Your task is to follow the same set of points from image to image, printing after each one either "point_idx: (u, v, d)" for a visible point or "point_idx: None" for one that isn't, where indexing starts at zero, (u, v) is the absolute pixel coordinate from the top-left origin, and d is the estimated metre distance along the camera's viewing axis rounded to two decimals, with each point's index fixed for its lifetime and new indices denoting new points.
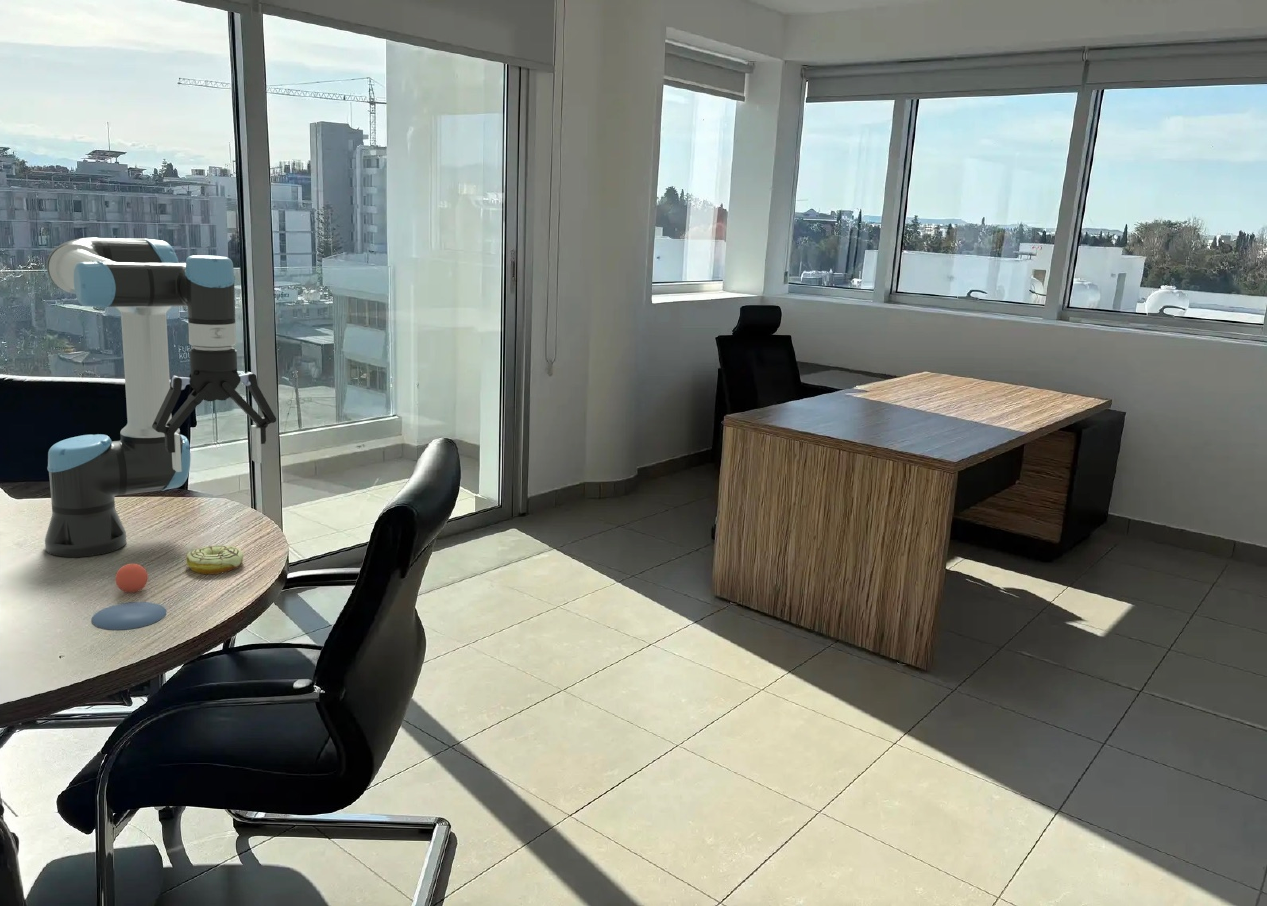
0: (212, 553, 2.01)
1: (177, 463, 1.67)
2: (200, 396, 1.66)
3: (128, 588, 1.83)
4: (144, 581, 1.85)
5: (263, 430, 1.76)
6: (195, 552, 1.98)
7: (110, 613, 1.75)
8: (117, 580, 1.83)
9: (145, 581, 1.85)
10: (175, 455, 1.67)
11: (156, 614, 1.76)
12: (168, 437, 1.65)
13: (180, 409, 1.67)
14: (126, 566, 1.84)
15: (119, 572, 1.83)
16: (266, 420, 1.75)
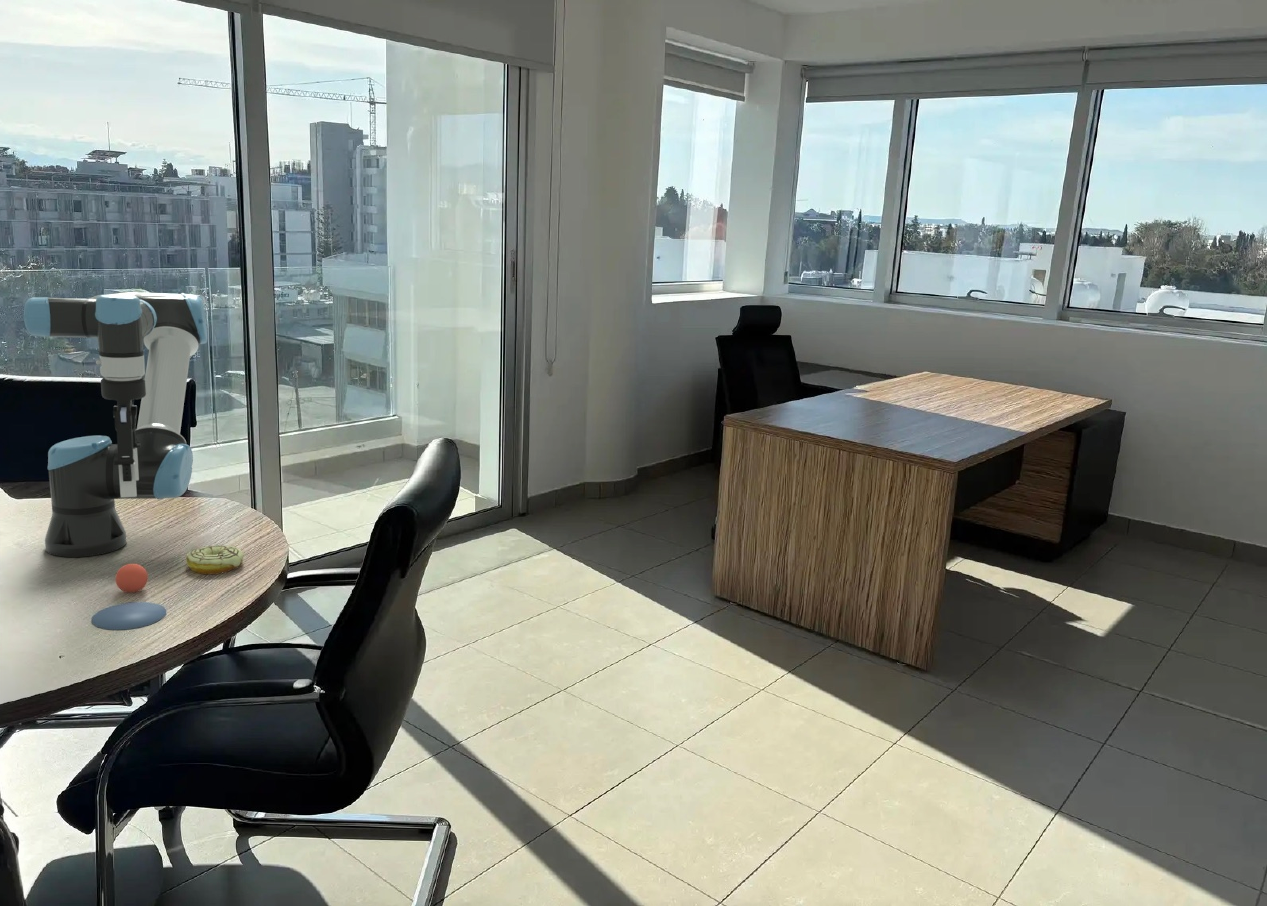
0: (212, 553, 2.01)
1: None
2: None
3: (128, 588, 1.83)
4: (144, 581, 1.85)
5: (122, 468, 1.82)
6: (195, 552, 1.98)
7: (110, 613, 1.75)
8: (117, 580, 1.83)
9: (145, 581, 1.85)
10: None
11: (156, 614, 1.76)
12: None
13: None
14: (126, 566, 1.84)
15: (119, 572, 1.83)
16: None
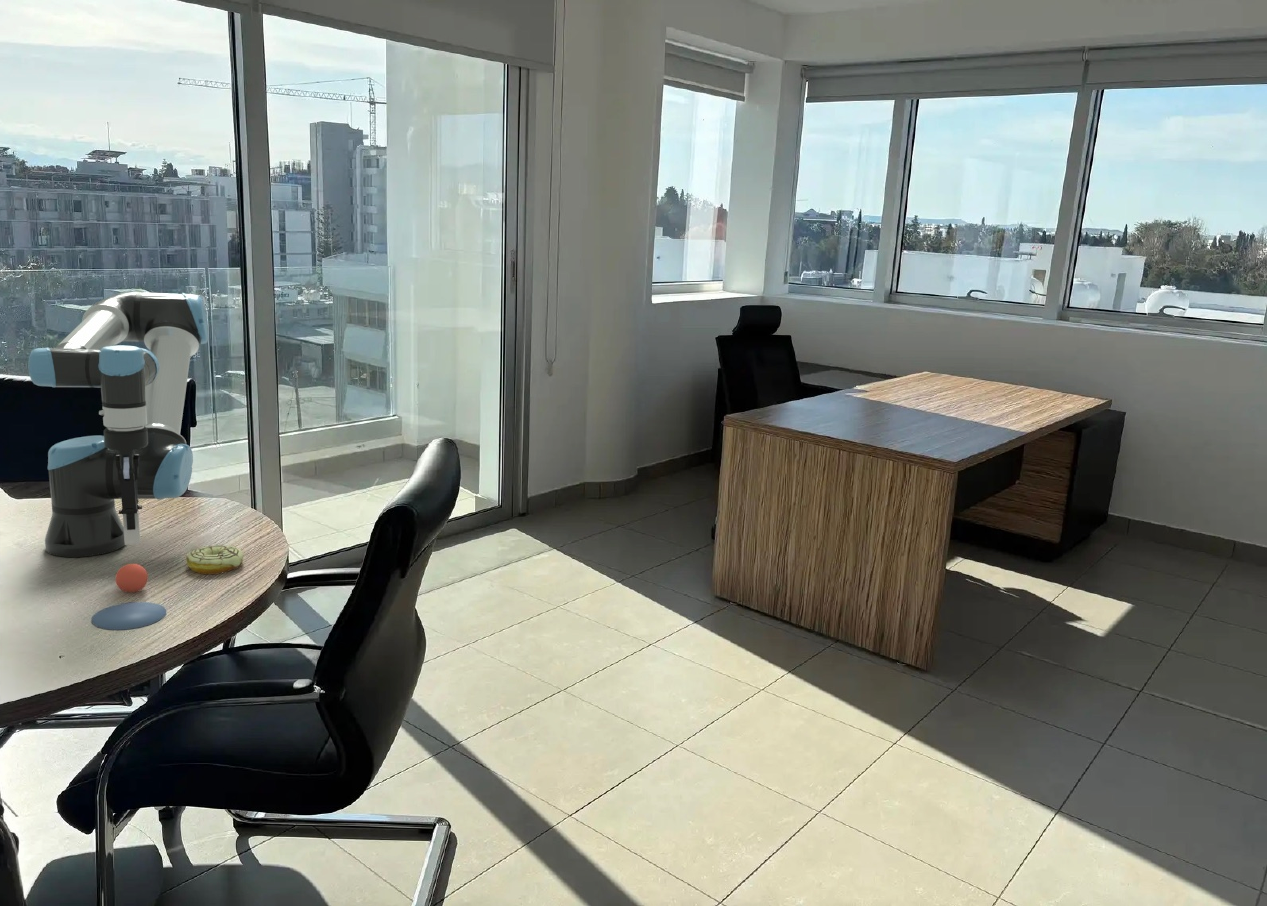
0: (212, 553, 2.01)
1: None
2: None
3: (128, 588, 1.83)
4: (144, 581, 1.85)
5: None
6: (195, 552, 1.98)
7: (110, 613, 1.75)
8: (117, 580, 1.83)
9: (145, 581, 1.85)
10: None
11: (156, 614, 1.76)
12: None
13: None
14: (126, 566, 1.84)
15: (119, 572, 1.83)
16: None
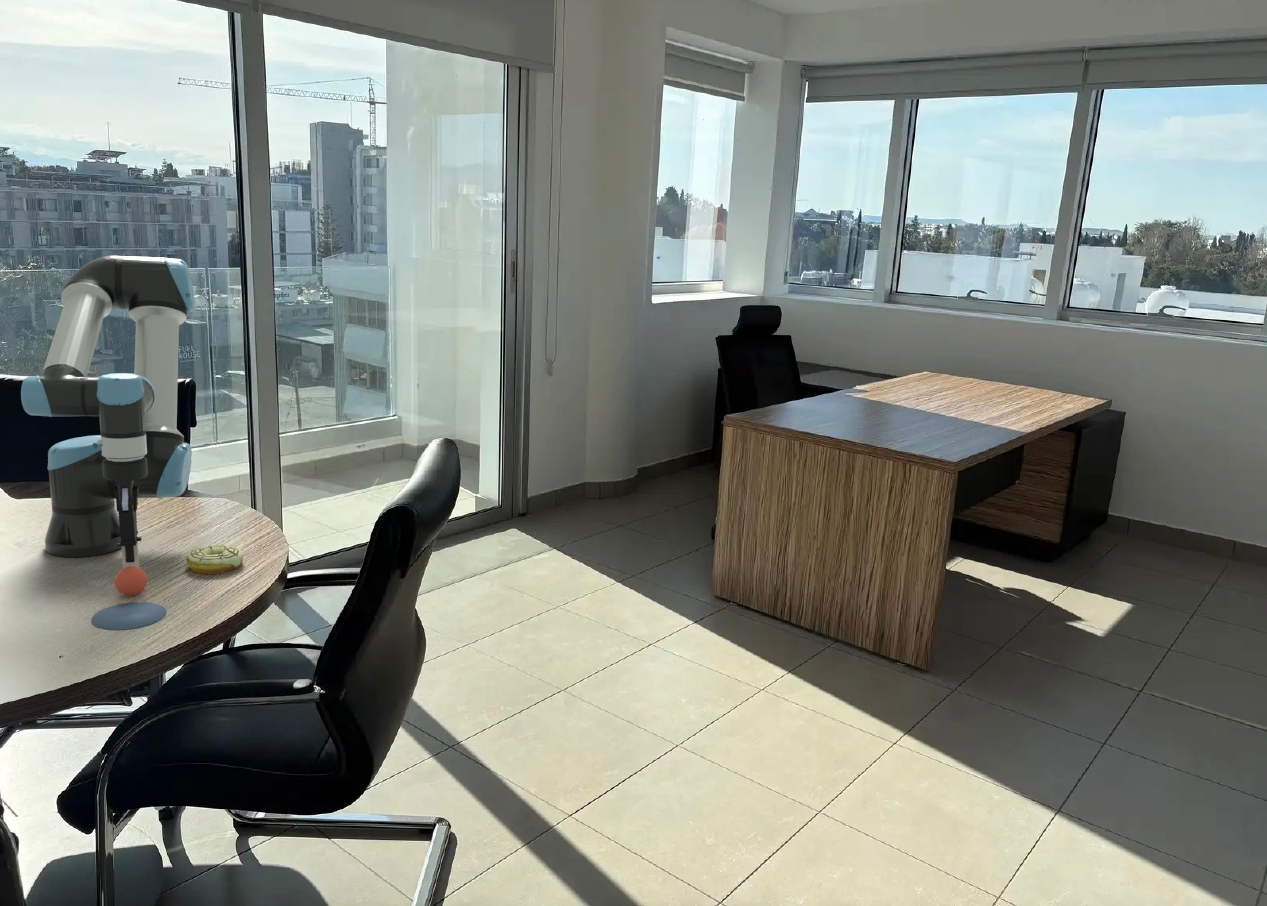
0: (212, 553, 2.01)
1: None
2: None
3: (128, 595, 1.82)
4: (144, 587, 1.84)
5: (125, 549, 1.84)
6: (195, 552, 1.98)
7: (110, 613, 1.75)
8: (117, 586, 1.82)
9: (145, 586, 1.84)
10: None
11: (156, 614, 1.76)
12: None
13: None
14: (125, 573, 1.81)
15: (118, 579, 1.81)
16: None
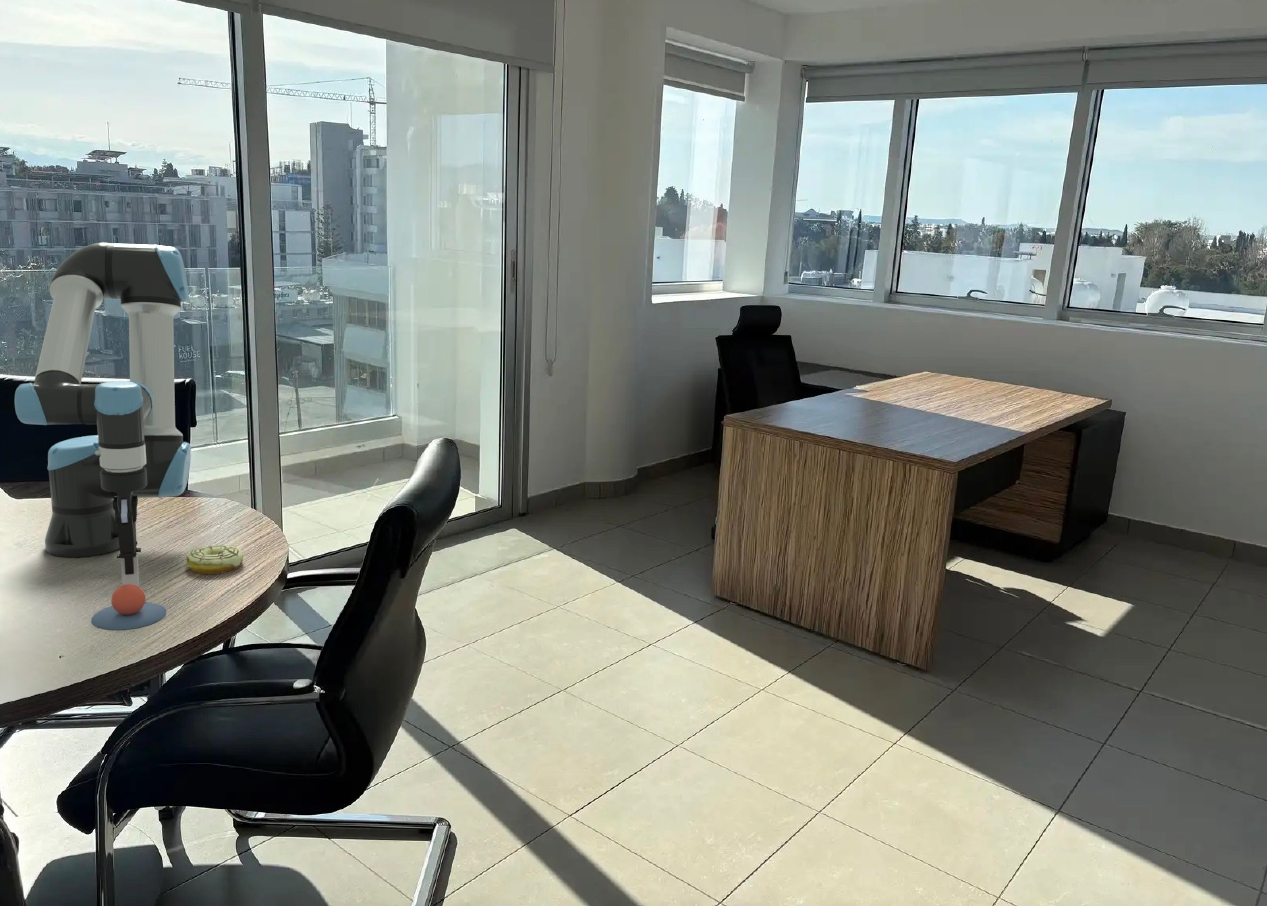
0: (212, 553, 2.01)
1: None
2: None
3: None
4: None
5: (124, 561, 1.80)
6: (195, 552, 1.98)
7: (110, 613, 1.75)
8: None
9: None
10: None
11: (156, 614, 1.76)
12: None
13: None
14: None
15: None
16: None
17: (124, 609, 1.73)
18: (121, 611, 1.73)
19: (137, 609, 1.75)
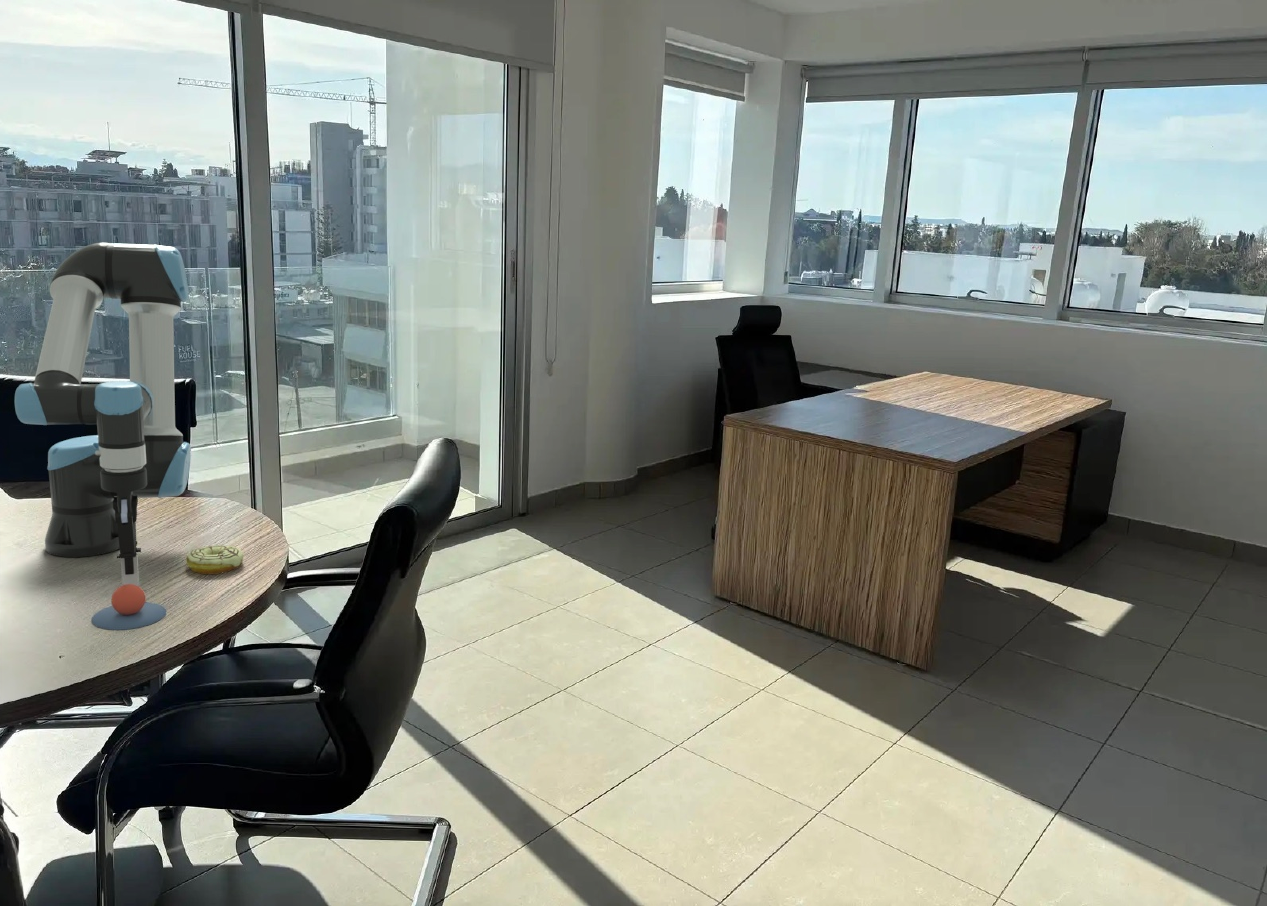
0: (212, 553, 2.01)
1: None
2: None
3: None
4: None
5: (124, 561, 1.80)
6: (195, 552, 1.98)
7: (110, 613, 1.75)
8: None
9: None
10: None
11: (156, 614, 1.76)
12: None
13: None
14: None
15: None
16: None
17: (124, 609, 1.73)
18: (121, 611, 1.73)
19: (137, 609, 1.75)
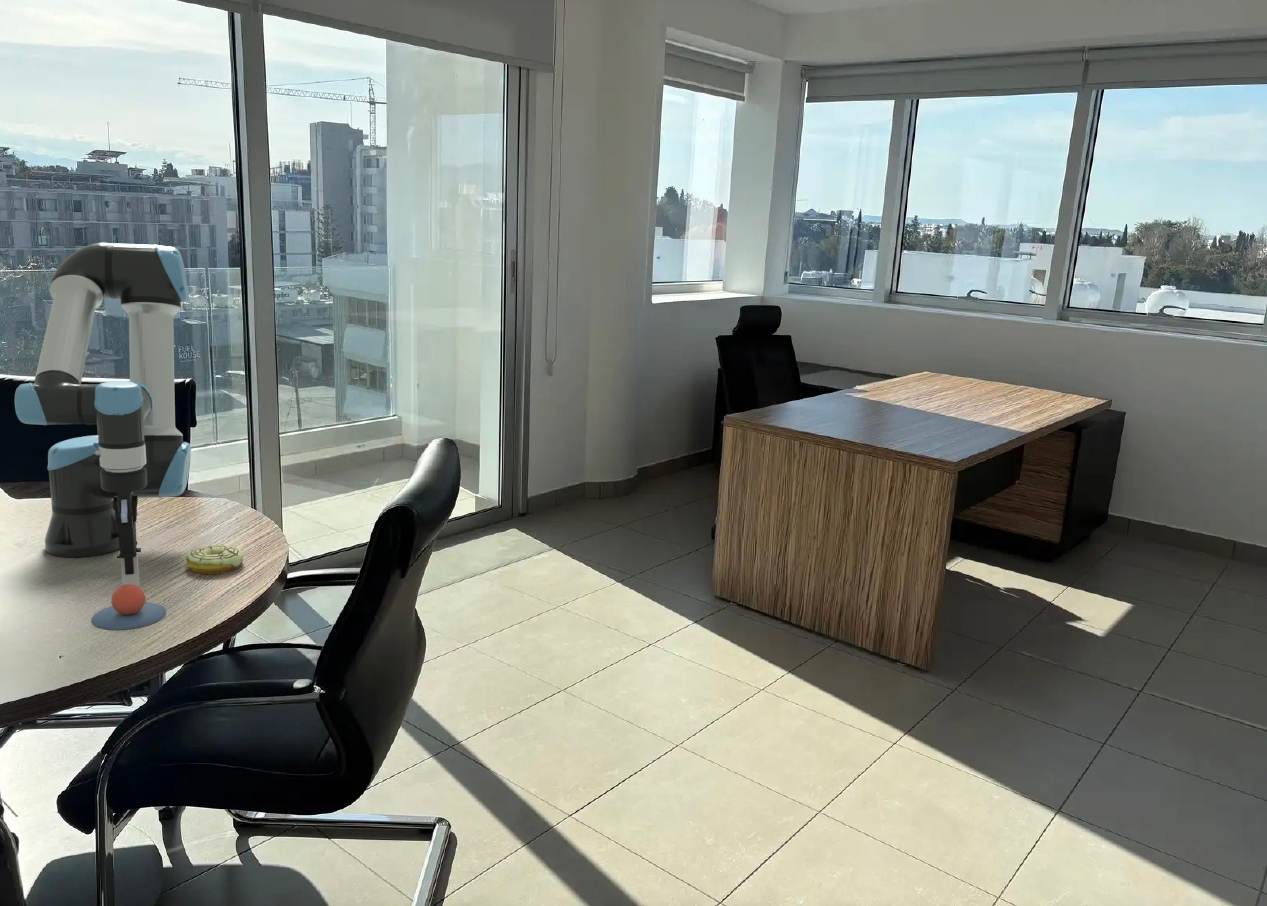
0: (212, 553, 2.01)
1: None
2: None
3: None
4: None
5: (124, 561, 1.80)
6: (195, 552, 1.98)
7: (110, 613, 1.75)
8: None
9: None
10: None
11: (156, 614, 1.76)
12: None
13: None
14: None
15: None
16: None
17: (124, 609, 1.73)
18: (121, 611, 1.73)
19: (137, 609, 1.75)
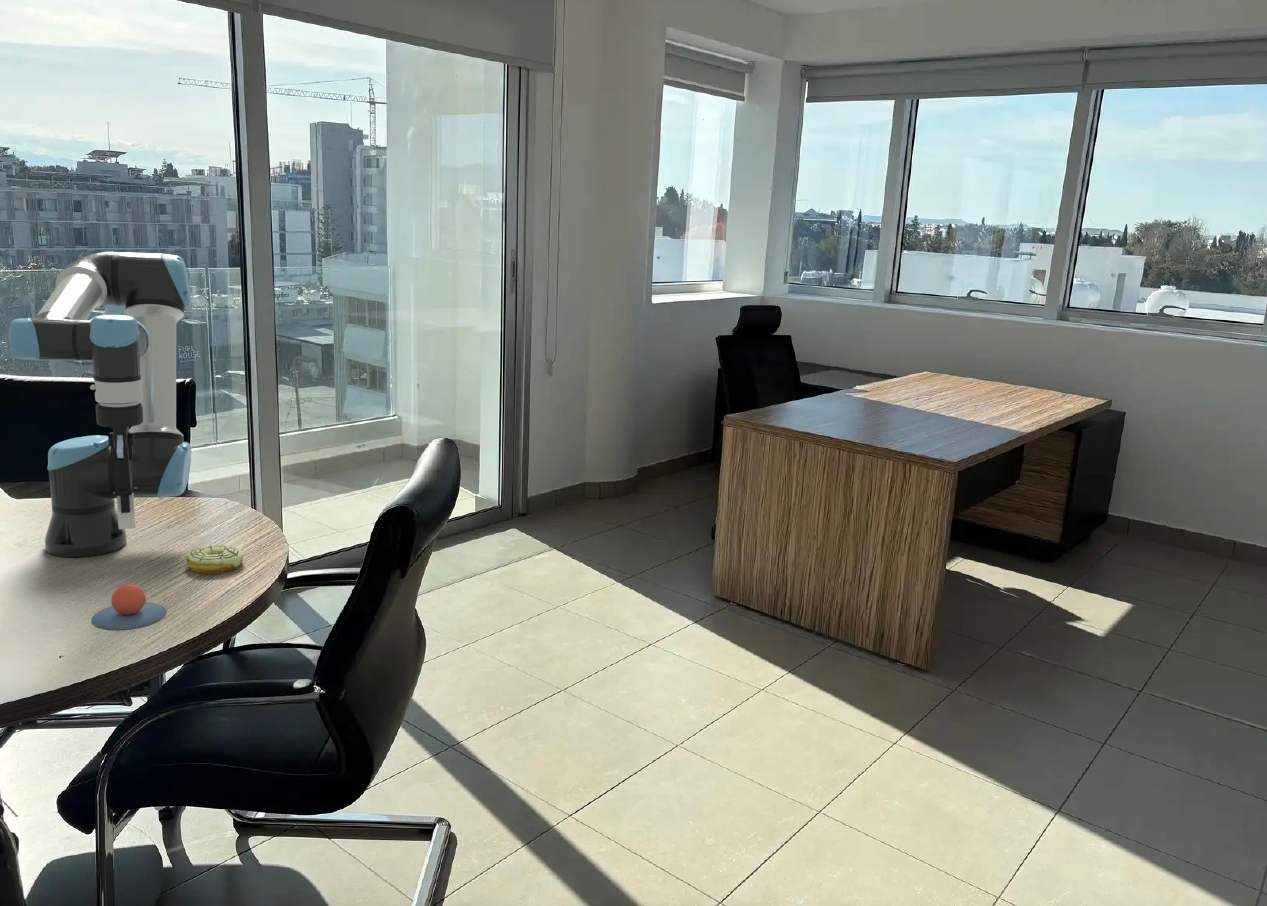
0: (212, 553, 2.01)
1: None
2: None
3: None
4: None
5: None
6: (195, 552, 1.98)
7: (110, 613, 1.75)
8: None
9: None
10: None
11: (156, 614, 1.76)
12: None
13: None
14: None
15: None
16: None
17: (124, 609, 1.73)
18: (121, 611, 1.73)
19: (137, 609, 1.75)
